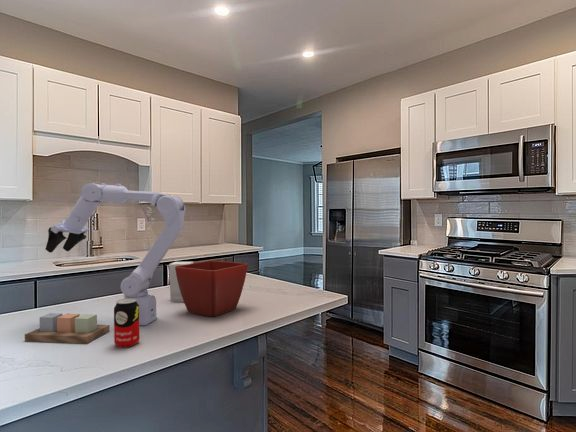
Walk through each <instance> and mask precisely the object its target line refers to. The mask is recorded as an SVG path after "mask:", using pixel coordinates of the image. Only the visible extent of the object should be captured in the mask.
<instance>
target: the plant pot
mask: <svg viewBox="0 0 576 432" xmlns="http://www.w3.org/2000/svg"><path fill="white" fill-rule="evenodd" d="M175 270H176V276H177V280H178V285H179V288H180V292H181V295H182V298H183V301H184V302H183V303H184V305H185V307H186V311H187V312H188V313H191V314H197V315H202V316H206V317H207V316H208V317H216V316H219V315H220V316H221V315H222V314H224V313H228V312H232V311H234V310H236V309H237V307H238V304H239V301H240V299H241V295H242V292H243V289H244V286H245V282H246V281H245V280H246V276H247V271H248V263H245V262H234V261H220V260H207V261H205V260H204V261H200V262H193V264H187V265H181V266H176V267H175Z"/></svg>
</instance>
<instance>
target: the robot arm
mask: <svg viewBox="0 0 576 432" xmlns="http://www.w3.org/2000/svg"><path fill="white" fill-rule="evenodd" d="M80 194H81V195H80V197H79V198H78V200H77V202H76V203H75V204H74V206H73V207H72V209H71V210H70V212H69V214H68V215H67V217H66V219H65V220H63V219H62V220H60V223H58V224H53V225H52V227H49V228H48V229H47V232H48V235H47V236H48V237H47V241H46V247H45V251H47V252H48V253H53V252H54V251H55V250H56V249H57V248H58V246H59V245H60V244H61V243H62V242H63V241H64V240H65V242H64V244H63V246H62V249H63V250H64V251H66V252H70V251H71V250H72V249H73V248H74V247H75V246H76V245H78V244H79V243H80V242H82V241H83V240H85V239H86V238H87V234H88V233H87V232H89V230H90V228H88V227H87V226H86V225H87V223H88V222H89V220H90V218H91V217H92V215H93V214H94V213H95V210H96V209H97V208H98V205H100V203H102V202H103V203H112V204H125V203H126V202H127V201H137V202H145V203H146V202H148V203H150V204H151V206H153V207H156V208H157V210H158V212H159V214H160V215H161V217H162V218H163V220H164V224H165V227H164V229H163V230H162V231H161V233H160V234H159V236H158V237H157V239H156V240H155V242H154V243H153V244H152V246H151V248H150V249H149V251H148V252H147V253H146V255H145V256H144V258H143V259H142V260H141V262H140V263H139V265H138V266H137V267H136V268H135V269H134V270H133V271H132V272H131V273H130V274H129V275H128V276H127V277H125V278H124V279H122V281H121V282H120V290H121V292H122V294H123V297H124V298H123V299H129V298H133V299H137V303H138V305H139V326H147V325H149V324H150V323H152V322H153V321H155V320H157V319H158V316H157V298H156V296H155V295H154V294H149V291H148V289H149V287H150V285H151V281H152V278H153V276H154V272H155V270H156V269H157V267H158V266H159V265H160V263H161V262H162V260H163V259H164V257H165V256H166V254H167V253H168V251H169V250H170V249H171V247H172V246H173V244H174V243H175V242H176V240H177V239H178V237H179V235H180V234H181V233H182V231H183V230H184V225H185V213H186V211H187V210H186V209H187V208H186V206H185V203H184V201H183V199H182V198H181V197H180V196H176V195H171V194H167V193H162V192H158V191H157V192H156V191H147V190H146V191H141V190H130V189H128V188H127V187H126V186H124V185H122V184H121V183H115V184H114V185H112V184H106V183H105V182H103V183H102V182H101V184H99V183H94V182H91V183H86V184H84V185H83V186H82V188H81V190H80ZM64 233H68V235H67V237H66V236H65V235H64Z"/></svg>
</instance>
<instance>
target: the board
mask: <svg viewBox="0 0 576 432" xmlns="http://www.w3.org/2000/svg"><path fill="white" fill-rule="evenodd" d="M110 328H111V327H110V324H97V329H96V330H94V331H92V332H90V333H75V331H73V332H71V333H69V332H57V330H56V331H54V332H41V331H40V327H38V328H37V329H35V330H32V331H29V332H27V333H24V342H30V343H31V342H32V343H36V342H37V343H54V344H55V343H56V344H58V343H59V344H60V343H61V344H79V345H80V344H81V345H82V344H83V345H85V344H86V345H88V344H91V342H93V341H95V340H97V339H99V338H100V337H103V336H104V335H106V334H109V333H110V330H111V329H110Z"/></svg>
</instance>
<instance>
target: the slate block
mask: <svg viewBox="0 0 576 432" xmlns="http://www.w3.org/2000/svg"><path fill="white" fill-rule="evenodd" d="M63 315H64V314H63V313H56V312H55V313H53V312H50V313H47V314H44V315H41V316H39V328H40V331H41V332H54V331H56V330H57V318H58V317H60V316H63Z"/></svg>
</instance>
